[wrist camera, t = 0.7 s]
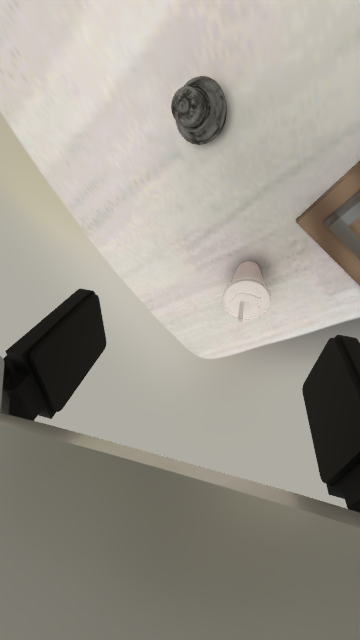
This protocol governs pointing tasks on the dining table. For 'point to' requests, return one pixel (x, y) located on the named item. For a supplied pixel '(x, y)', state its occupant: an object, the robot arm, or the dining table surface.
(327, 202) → the socket block
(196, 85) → the chess piece
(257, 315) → the smoothie
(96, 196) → the dining table surface
